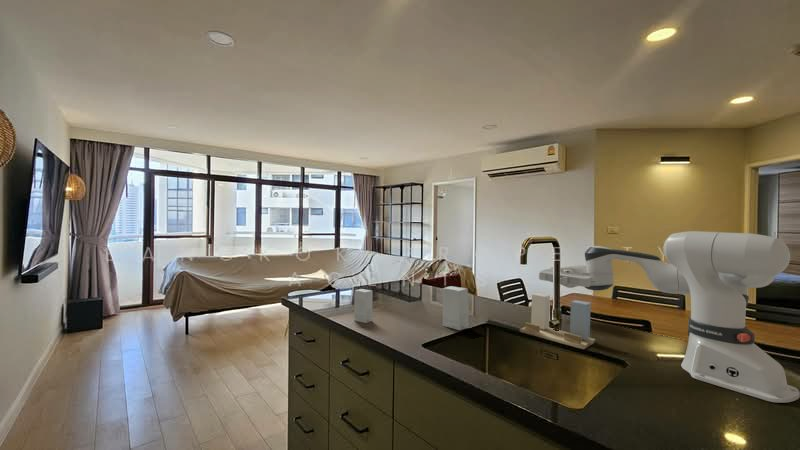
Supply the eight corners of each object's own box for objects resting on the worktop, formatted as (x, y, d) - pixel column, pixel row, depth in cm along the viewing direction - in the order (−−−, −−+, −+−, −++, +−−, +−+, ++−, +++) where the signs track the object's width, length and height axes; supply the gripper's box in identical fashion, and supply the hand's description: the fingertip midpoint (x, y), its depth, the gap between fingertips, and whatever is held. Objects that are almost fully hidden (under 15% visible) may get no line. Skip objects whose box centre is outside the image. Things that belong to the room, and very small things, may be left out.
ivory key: (535, 324, 133) (537, 293, 133) (548, 327, 129) (550, 295, 129) (530, 326, 130) (532, 294, 130) (544, 329, 127) (545, 296, 126)
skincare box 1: (372, 320, 136) (373, 290, 136) (365, 323, 133) (366, 292, 132) (360, 318, 139) (361, 288, 139) (353, 320, 136) (354, 290, 136)
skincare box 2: (468, 328, 130) (469, 288, 130) (458, 331, 126) (460, 290, 126) (450, 322, 136) (451, 285, 136) (440, 325, 132) (442, 286, 132)
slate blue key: (574, 333, 123) (575, 300, 122) (589, 337, 119) (590, 302, 119) (569, 336, 120) (570, 301, 120) (585, 340, 116) (586, 304, 116)
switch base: (533, 326, 135) (533, 317, 135) (595, 342, 119) (595, 332, 118) (519, 331, 128) (520, 322, 128) (583, 349, 111) (584, 338, 111)
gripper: (597, 288, 141) (584, 292, 132) (547, 280, 156) (532, 283, 147) (597, 273, 141) (584, 276, 131) (547, 266, 156) (533, 269, 147)
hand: (556, 280), depth 139 cm, fingers closed
